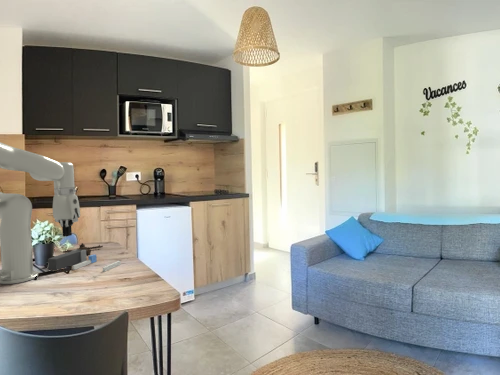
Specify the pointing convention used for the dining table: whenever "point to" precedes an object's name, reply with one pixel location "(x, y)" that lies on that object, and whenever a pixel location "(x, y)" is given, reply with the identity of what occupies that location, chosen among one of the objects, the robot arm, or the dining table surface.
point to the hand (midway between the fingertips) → (67, 235)
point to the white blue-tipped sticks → (93, 259)
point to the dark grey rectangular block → (67, 259)
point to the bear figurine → (84, 249)
